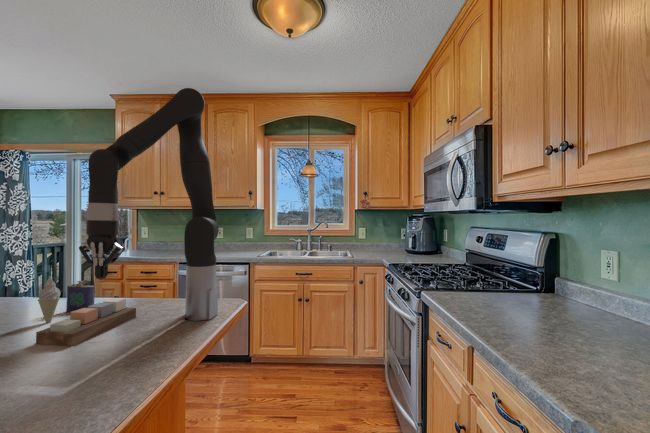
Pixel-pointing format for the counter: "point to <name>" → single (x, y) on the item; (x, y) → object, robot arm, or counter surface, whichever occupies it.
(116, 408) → the counter surface
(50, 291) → the ice cream cone
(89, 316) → the terracotta key
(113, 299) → the ivory key
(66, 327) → the sage key
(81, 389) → the counter surface
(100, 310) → the slate key
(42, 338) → the brown wooden tray
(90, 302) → the flask
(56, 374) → the counter surface
